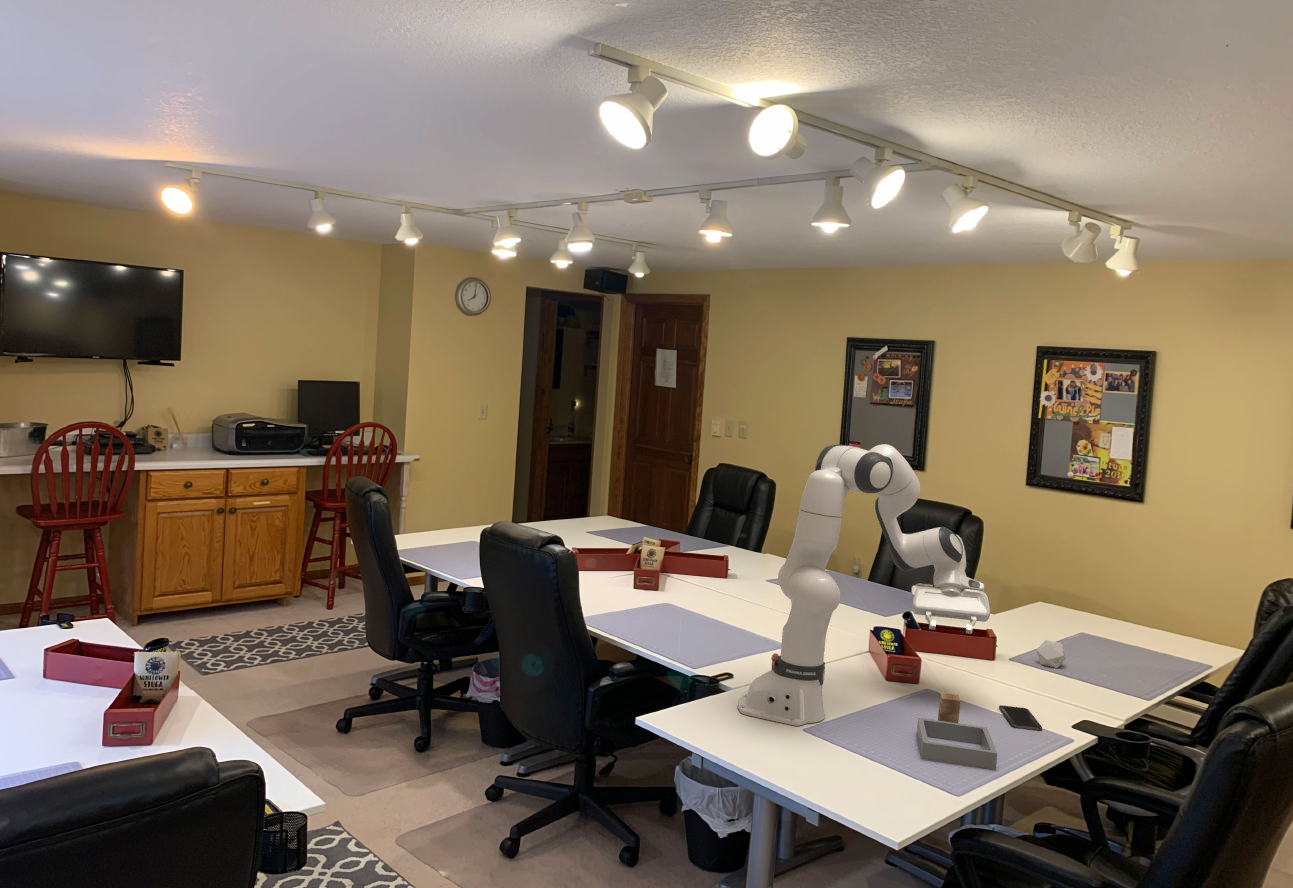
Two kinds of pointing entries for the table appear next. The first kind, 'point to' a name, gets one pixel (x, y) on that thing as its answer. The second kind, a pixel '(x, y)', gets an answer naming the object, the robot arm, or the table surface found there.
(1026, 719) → the phone
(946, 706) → the walnut block
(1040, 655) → the die
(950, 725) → the box
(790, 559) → the robot arm
